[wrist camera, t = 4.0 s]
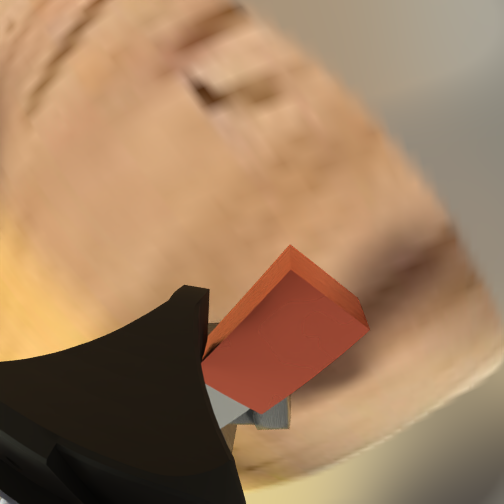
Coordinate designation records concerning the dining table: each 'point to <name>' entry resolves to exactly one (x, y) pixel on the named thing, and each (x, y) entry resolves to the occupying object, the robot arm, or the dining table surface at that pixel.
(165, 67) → the dining table surface
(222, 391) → the valve lever
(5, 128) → the dining table surface
